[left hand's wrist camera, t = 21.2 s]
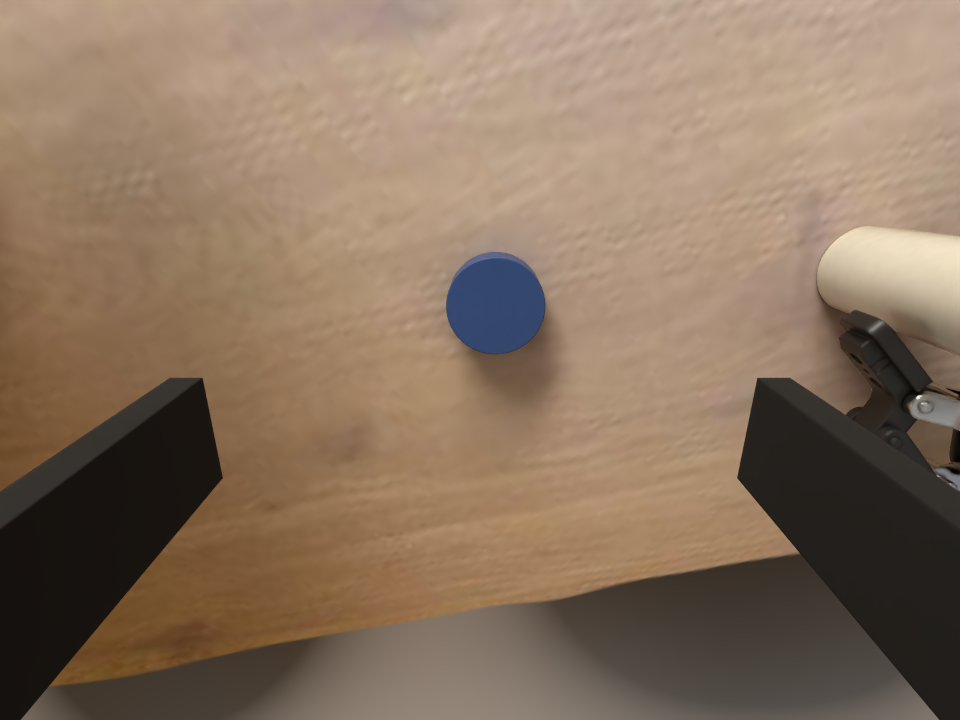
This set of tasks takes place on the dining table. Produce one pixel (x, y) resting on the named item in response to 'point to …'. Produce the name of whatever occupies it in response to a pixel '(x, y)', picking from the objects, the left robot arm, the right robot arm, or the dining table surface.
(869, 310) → the jar
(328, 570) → the dining table surface
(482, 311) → the lid
